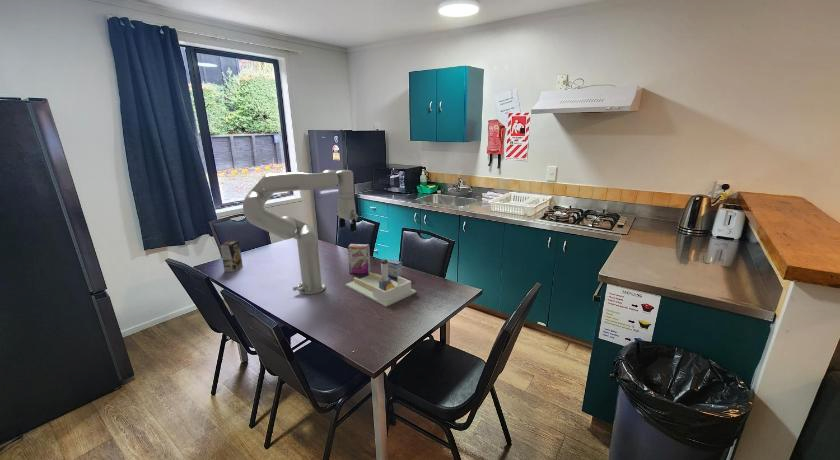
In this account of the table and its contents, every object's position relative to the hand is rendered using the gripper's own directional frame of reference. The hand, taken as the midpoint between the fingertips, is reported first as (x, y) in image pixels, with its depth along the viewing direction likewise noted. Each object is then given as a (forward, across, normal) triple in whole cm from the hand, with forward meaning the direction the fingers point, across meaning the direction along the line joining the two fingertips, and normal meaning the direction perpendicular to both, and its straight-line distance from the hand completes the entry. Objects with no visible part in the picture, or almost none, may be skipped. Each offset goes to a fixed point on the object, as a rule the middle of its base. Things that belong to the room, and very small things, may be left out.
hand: (347, 228), depth 174 cm
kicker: (+28, +21, +7) cm, 36 cm away
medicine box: (+30, +9, +23) cm, 39 cm away
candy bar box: (+30, -8, +12) cm, 34 cm away
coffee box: (+31, -66, -37) cm, 81 cm away
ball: (+27, +25, +7) cm, 37 cm away
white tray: (+30, +17, +7) cm, 35 cm away
